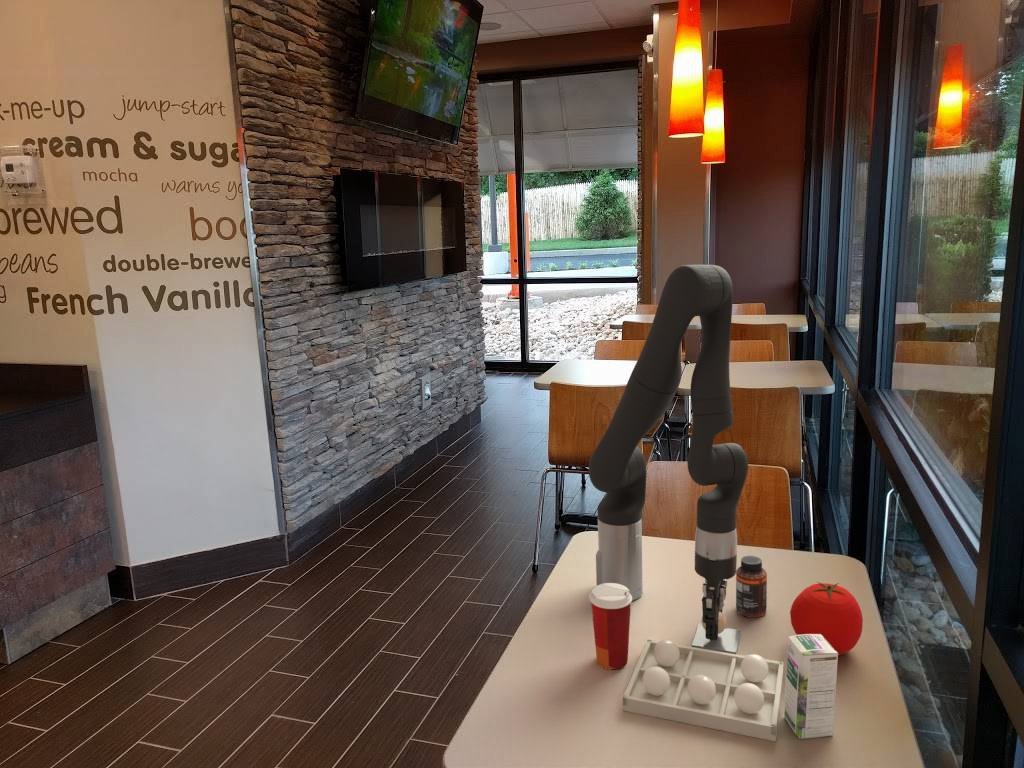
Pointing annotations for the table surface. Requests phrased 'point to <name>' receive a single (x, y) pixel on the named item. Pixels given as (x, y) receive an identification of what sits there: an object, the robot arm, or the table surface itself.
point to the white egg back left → (666, 653)
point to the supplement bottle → (751, 587)
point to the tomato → (828, 615)
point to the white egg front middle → (701, 689)
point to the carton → (734, 701)
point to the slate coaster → (718, 640)
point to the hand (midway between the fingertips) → (713, 631)
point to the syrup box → (810, 685)
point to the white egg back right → (754, 668)
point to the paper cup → (611, 624)
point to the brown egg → (721, 623)
